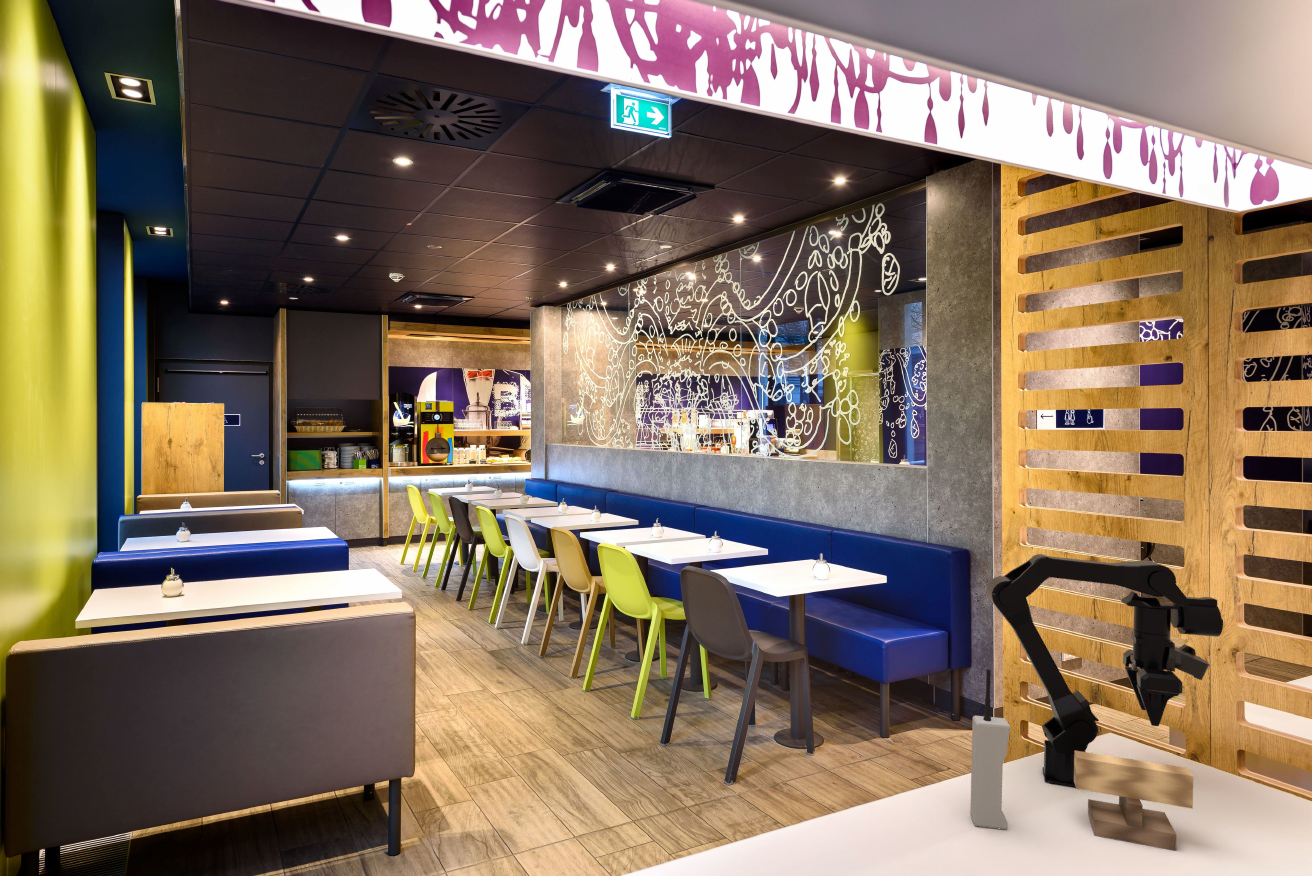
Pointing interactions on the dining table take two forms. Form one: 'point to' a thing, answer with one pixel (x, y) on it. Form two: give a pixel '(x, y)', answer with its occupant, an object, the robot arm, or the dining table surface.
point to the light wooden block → (1133, 779)
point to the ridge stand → (1131, 823)
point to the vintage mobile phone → (988, 766)
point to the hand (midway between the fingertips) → (1149, 717)
